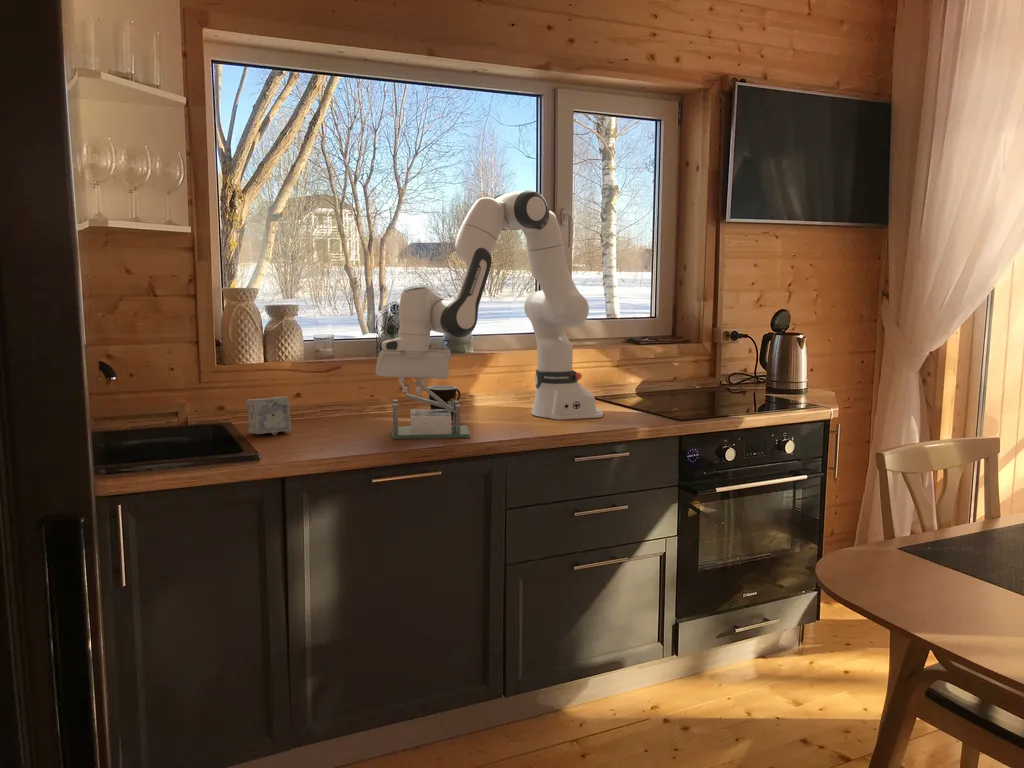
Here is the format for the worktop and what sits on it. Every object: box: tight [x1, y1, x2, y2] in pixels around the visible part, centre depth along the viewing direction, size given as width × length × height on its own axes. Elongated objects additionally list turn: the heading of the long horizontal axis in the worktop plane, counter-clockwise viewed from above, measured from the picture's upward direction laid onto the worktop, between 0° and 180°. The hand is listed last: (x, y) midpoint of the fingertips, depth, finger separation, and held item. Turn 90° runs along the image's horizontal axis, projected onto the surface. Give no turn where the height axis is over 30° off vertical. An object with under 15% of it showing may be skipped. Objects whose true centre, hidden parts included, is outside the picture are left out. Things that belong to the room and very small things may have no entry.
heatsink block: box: [391, 399, 471, 440], centre depth 226 cm, size 21×12×9 cm, turn 97°
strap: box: [410, 376, 453, 412], centre depth 222 cm, size 14×3×1 cm
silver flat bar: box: [401, 392, 451, 409], centre depth 228 cm, size 14×3×1 cm, turn 98°
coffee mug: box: [427, 384, 461, 422], centre depth 246 cm, size 12×9×10 cm
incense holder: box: [245, 396, 292, 437], centre depth 224 cm, size 10×8×10 cm
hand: (411, 393), depth 227 cm, fingers open, 2 cm apart
